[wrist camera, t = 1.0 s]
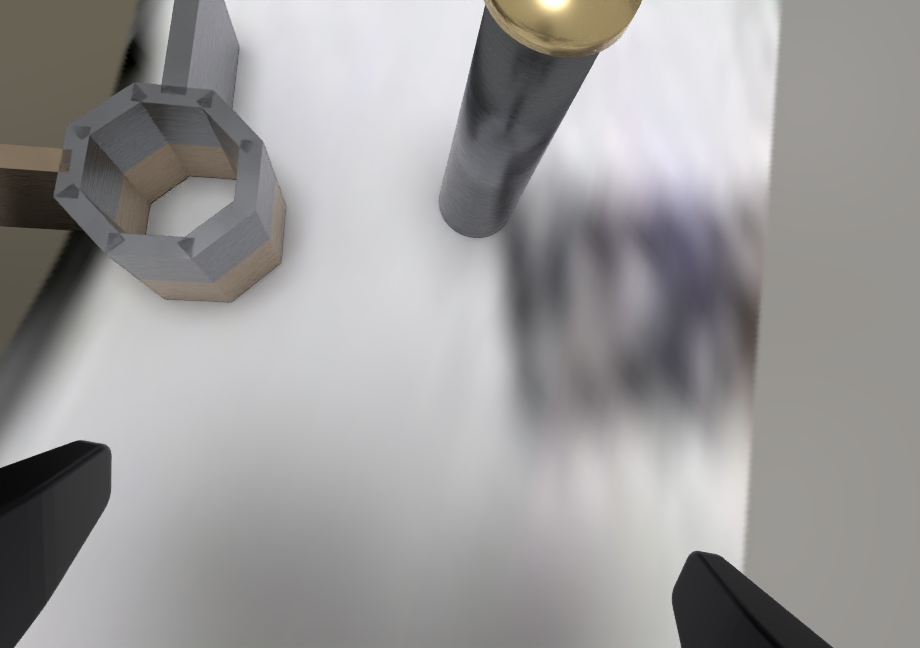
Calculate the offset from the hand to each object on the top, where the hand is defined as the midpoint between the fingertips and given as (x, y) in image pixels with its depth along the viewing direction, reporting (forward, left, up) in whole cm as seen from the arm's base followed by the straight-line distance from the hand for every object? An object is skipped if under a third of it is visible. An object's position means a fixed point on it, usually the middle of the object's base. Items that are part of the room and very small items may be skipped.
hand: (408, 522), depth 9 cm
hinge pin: (+12, -3, -13) cm, 18 cm away
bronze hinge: (+13, +11, -13) cm, 21 cm away
